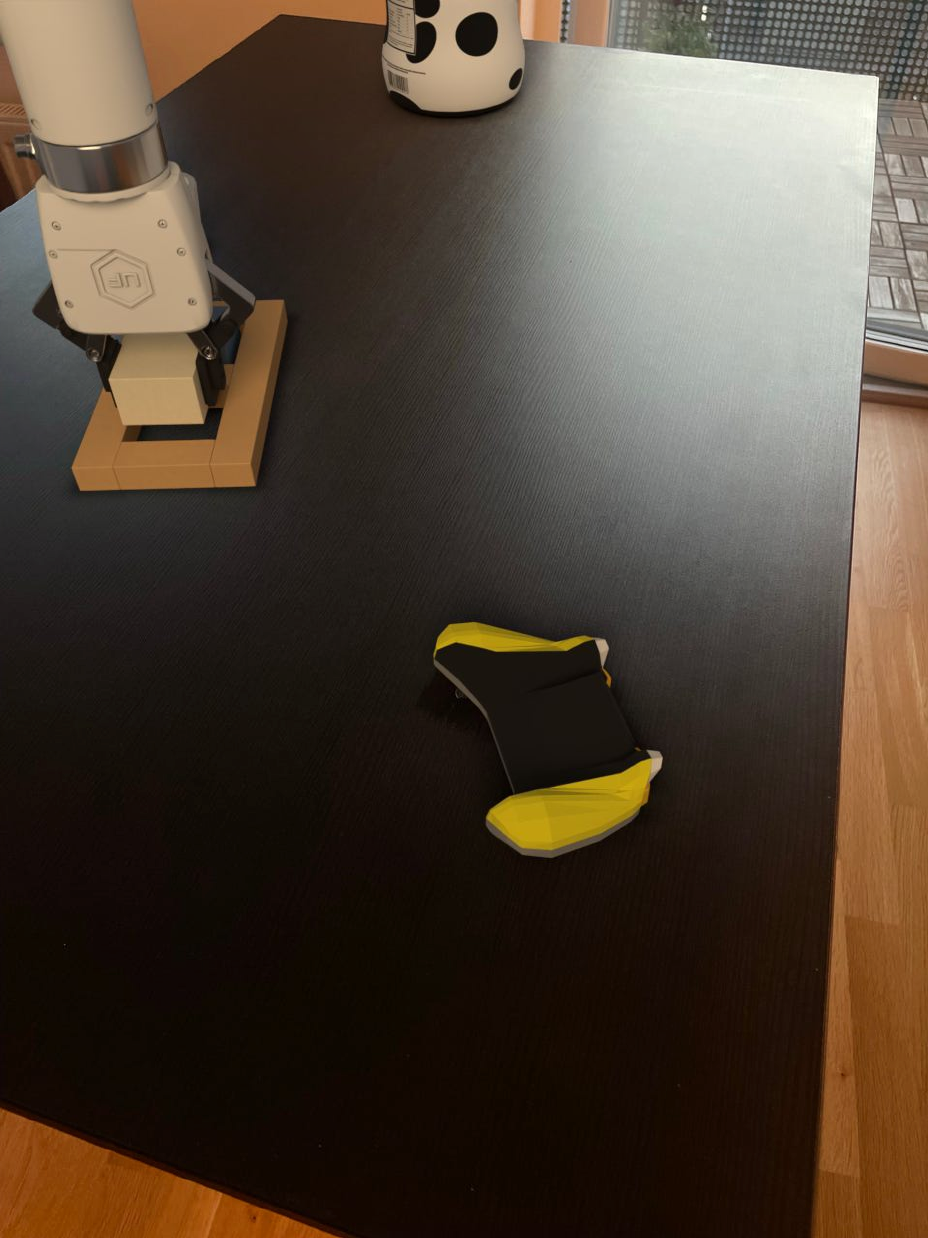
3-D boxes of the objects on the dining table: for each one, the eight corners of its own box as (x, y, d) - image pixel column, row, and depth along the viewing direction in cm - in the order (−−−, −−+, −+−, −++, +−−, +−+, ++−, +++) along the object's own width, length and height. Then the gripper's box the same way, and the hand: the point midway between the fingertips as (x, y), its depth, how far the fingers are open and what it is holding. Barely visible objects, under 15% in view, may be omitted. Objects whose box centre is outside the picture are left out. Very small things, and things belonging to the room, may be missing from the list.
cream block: (122, 425, 74) (108, 379, 71) (139, 379, 78) (126, 333, 75) (204, 424, 74) (192, 377, 71) (216, 377, 78) (206, 332, 75)
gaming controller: (496, 895, 51) (677, 848, 53) (497, 840, 47) (693, 791, 49) (428, 678, 61) (582, 644, 63) (424, 617, 57) (588, 582, 59)
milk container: (535, 80, 128) (540, -87, 115) (508, 134, 117) (511, -45, 104) (406, 72, 131) (396, -92, 118) (367, 123, 120) (352, -52, 107)
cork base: (81, 494, 74) (70, 467, 72) (143, 328, 89) (136, 302, 87) (256, 490, 74) (250, 463, 72) (288, 324, 89) (284, 298, 87)
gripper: (-56, 181, 59) (41, 429, 73) (234, 176, 60) (278, 424, 73) (-17, 131, 65) (67, 370, 78) (250, 126, 65) (288, 366, 78)
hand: (169, 394), depth 75 cm, fingers closed on cream block, 6 cm apart
